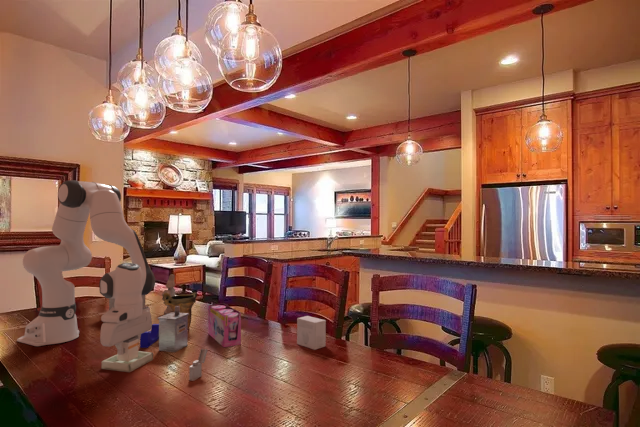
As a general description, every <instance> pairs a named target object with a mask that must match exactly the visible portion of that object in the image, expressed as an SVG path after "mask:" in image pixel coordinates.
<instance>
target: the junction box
mask: <svg viewBox="0 0 640 427" xmlns="http://www.w3.org/2000/svg"><path fill="white" fill-rule="evenodd" d="M188 315H189V313H180V306H175V312H171V313H167V314H164V315H162V316H158V317H157V320H158V324H159V339H158V351H160V352H166V353H167V352H168V353H169V352H170V353H177V352H179V351H180V350H181V349H183V348H185V347H187V346H188V336H189V335H188V334H189V333H188V331H189V330H188Z"/></svg>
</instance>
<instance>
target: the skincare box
mask: <svg viewBox="0 0 640 427" xmlns="http://www.w3.org/2000/svg"><path fill="white" fill-rule="evenodd" d="M326 322H327V320H326V319H321V318H318V317H313V316H310V315H305V316H301V317H297V318H296V325H297V326H296V328H297V329H296V330H297V331H296V336H297V338H296V345H297V346H298V345H299V346H301V347H305V348H308V349H311V350H314V351H316V350H318V349H321V348H324V347H326V345H327V344H326V342H327V341H326V340H327V339H326V338H327V337H326V336H327V334H326V330H327V328H326V327H327V326H326V325H327V323H326Z"/></svg>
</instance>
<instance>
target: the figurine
mask: <svg viewBox="0 0 640 427" xmlns="http://www.w3.org/2000/svg"><path fill="white" fill-rule="evenodd" d="M175 286H176V283H175V274H173V273H172V274H170V275H169V276H168V280H167V282H166V284H165V288H166V289H164V290H163V292H162V293H161V296H162V299H161V300H162V301H163V294H164V293H169V295H170V297H172V296H176V289H175ZM164 305H165V304H164ZM165 306H166V308H165V310H164V311H163V314H164V315H166V314H169V313H171V312H172V310H171V308H170V306H169V305H165Z"/></svg>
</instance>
